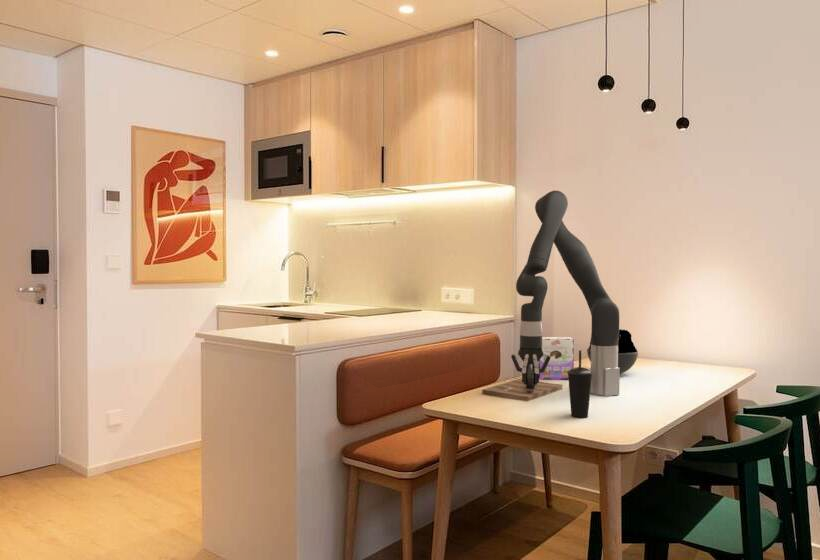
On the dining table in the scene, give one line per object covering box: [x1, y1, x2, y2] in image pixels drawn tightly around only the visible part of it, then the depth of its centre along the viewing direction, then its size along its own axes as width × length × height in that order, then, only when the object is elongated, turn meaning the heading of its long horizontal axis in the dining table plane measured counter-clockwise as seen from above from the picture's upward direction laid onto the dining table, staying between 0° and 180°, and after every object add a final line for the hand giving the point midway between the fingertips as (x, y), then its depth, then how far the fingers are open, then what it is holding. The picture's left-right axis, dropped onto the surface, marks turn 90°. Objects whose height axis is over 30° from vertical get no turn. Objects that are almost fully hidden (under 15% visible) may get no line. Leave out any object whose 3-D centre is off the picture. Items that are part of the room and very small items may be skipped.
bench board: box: [481, 378, 563, 402], centre depth 230 cm, size 26×18×2 cm
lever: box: [526, 363, 535, 392], centre depth 230 cm, size 22×4×10 cm, turn 168°
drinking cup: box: [567, 350, 593, 419], centre depth 194 cm, size 8×8×20 cm
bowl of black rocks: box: [586, 328, 639, 375], centre depth 263 cm, size 20×20×19 cm
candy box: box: [538, 336, 575, 381], centre depth 254 cm, size 14×6×16 cm, turn 84°
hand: (530, 383), depth 220 cm, fingers closed on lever, 3 cm apart
